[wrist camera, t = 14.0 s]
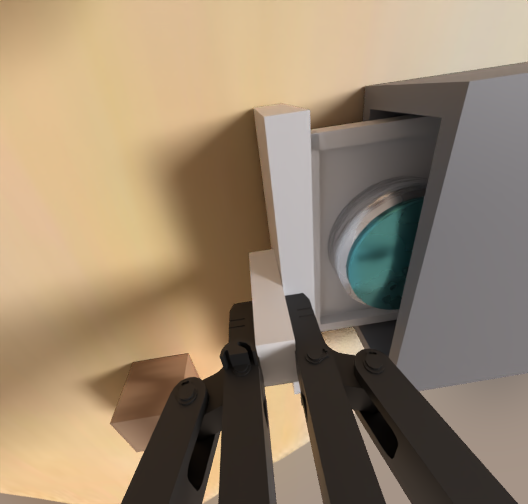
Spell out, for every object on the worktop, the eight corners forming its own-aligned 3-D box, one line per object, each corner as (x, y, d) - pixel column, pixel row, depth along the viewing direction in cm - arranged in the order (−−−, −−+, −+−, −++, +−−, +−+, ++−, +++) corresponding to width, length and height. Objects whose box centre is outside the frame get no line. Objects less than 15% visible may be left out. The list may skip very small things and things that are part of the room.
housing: (348, 316, 22) (388, 396, 16) (365, 86, 13) (469, 81, 7) (525, 287, 23) (628, 356, 17) (662, 41, 14) (995, 2, 8)
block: (152, 392, 26) (136, 452, 21) (133, 362, 23) (109, 423, 19) (202, 384, 26) (196, 442, 21) (188, 353, 23) (177, 412, 19)
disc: (324, 292, 18) (337, 321, 16) (331, 183, 14) (351, 201, 12) (431, 279, 19) (459, 306, 16) (470, 168, 15) (515, 183, 12)
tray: (281, 326, 22) (294, 394, 17) (253, 107, 13) (264, 117, 8) (462, 297, 22) (527, 355, 17) (556, 62, 13) (741, 45, 8)
